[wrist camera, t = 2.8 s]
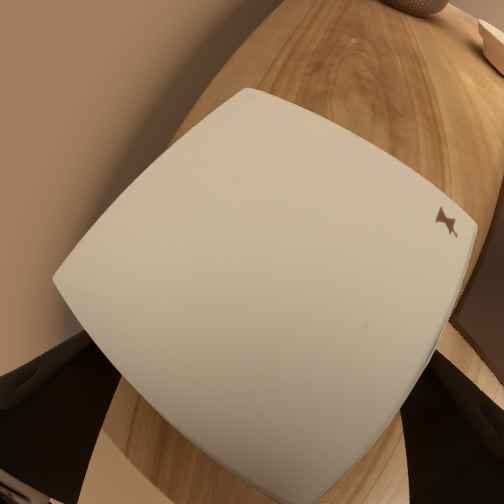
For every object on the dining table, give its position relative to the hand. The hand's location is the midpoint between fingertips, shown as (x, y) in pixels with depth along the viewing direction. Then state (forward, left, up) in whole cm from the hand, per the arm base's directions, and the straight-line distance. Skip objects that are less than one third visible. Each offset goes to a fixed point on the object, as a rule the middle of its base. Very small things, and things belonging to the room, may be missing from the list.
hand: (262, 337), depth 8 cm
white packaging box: (+1, 0, -9) cm, 9 cm away
